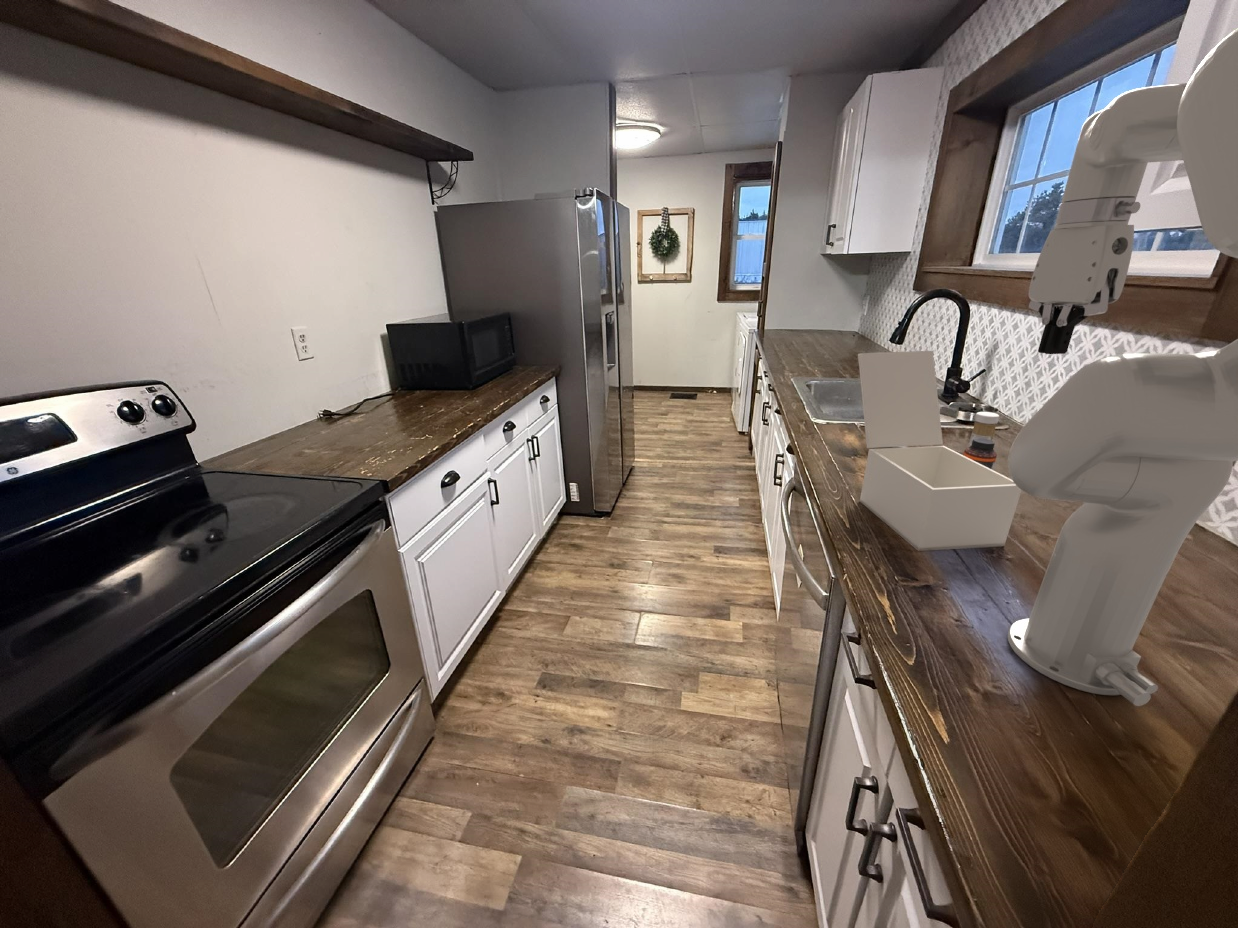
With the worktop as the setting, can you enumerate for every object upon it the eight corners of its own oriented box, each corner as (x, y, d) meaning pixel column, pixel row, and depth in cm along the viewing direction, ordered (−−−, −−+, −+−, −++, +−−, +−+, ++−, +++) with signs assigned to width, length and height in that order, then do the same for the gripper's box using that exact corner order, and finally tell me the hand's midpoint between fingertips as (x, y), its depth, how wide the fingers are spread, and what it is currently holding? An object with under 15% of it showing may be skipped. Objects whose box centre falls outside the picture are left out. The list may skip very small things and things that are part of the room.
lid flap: (932, 350, 104) (930, 352, 105) (859, 353, 103) (857, 354, 104) (942, 444, 103) (940, 444, 103) (868, 447, 102) (866, 448, 102)
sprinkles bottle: (988, 466, 122) (1003, 414, 117) (980, 470, 120) (994, 417, 115) (968, 460, 126) (981, 409, 121) (959, 464, 123) (972, 413, 118)
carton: (1004, 546, 88) (1023, 485, 84) (918, 550, 87) (932, 489, 83) (931, 497, 107) (943, 445, 102) (859, 501, 106) (869, 449, 101)
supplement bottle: (956, 490, 110) (968, 442, 106) (953, 480, 115) (965, 434, 111) (988, 495, 107) (1002, 446, 103) (984, 484, 112) (998, 437, 108)
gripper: (1181, 209, 60) (1127, 360, 67) (1064, 221, 74) (1029, 345, 81) (1127, 210, 60) (1078, 362, 66) (1019, 221, 73) (988, 347, 80)
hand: (1051, 352), depth 74 cm, fingers closed
